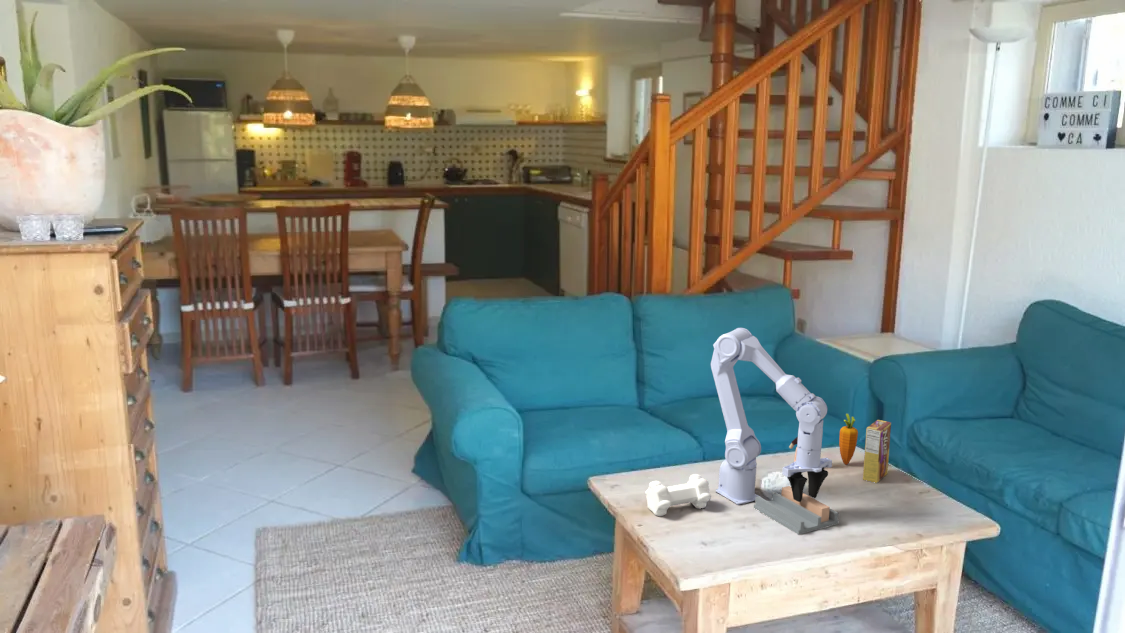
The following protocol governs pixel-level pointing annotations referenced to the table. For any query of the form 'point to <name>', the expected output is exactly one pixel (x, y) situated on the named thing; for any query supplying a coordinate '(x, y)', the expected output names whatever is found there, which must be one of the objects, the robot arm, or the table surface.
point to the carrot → (848, 440)
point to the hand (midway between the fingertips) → (804, 498)
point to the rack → (793, 514)
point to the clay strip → (808, 503)
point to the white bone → (677, 494)
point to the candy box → (876, 451)
